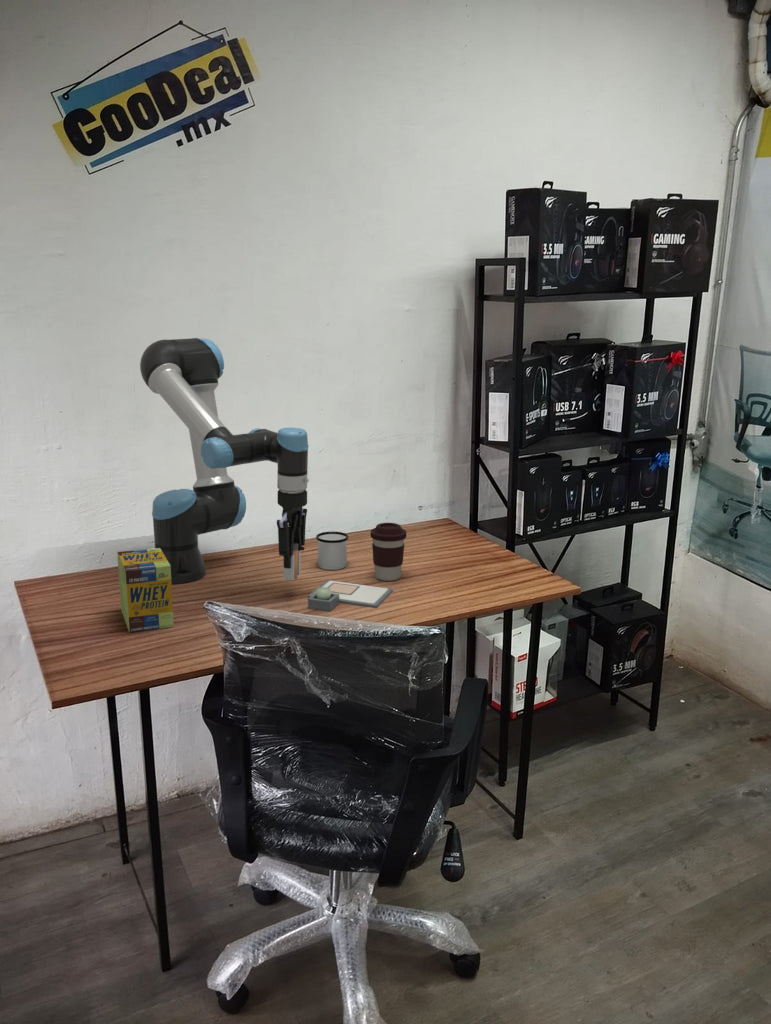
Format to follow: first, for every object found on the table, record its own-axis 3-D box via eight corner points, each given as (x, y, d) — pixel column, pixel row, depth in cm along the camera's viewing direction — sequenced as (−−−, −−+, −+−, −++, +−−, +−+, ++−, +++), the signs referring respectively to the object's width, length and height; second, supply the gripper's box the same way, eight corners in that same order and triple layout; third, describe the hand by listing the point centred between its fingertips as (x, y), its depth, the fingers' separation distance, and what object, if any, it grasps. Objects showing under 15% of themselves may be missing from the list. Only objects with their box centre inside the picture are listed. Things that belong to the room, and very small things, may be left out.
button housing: (308, 608, 213) (308, 598, 213) (317, 600, 219) (317, 591, 218) (330, 611, 212) (330, 602, 211) (339, 603, 217) (339, 594, 216)
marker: (282, 578, 220) (282, 545, 217) (288, 574, 223) (288, 541, 220) (294, 580, 219) (294, 546, 216) (300, 576, 222) (300, 543, 219)
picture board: (307, 598, 220) (307, 594, 220) (327, 582, 232) (327, 578, 232) (376, 607, 214) (376, 604, 214) (393, 591, 226) (393, 587, 226)
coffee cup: (401, 584, 231) (403, 531, 227) (366, 581, 233) (367, 529, 229) (408, 572, 241) (409, 522, 237) (374, 570, 243) (374, 519, 239)
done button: (314, 602, 214) (314, 591, 213) (320, 597, 217) (320, 586, 216) (327, 604, 213) (327, 593, 212) (333, 599, 216) (333, 588, 215)
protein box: (129, 633, 197) (124, 570, 193) (120, 610, 210) (116, 551, 206) (174, 627, 201) (171, 565, 197) (163, 604, 214) (160, 546, 210)
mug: (352, 569, 243) (352, 539, 240) (320, 572, 240) (320, 542, 237) (340, 556, 254) (340, 527, 251) (310, 559, 251) (309, 530, 248)
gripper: (292, 499, 206) (291, 589, 212) (318, 484, 220) (317, 568, 227) (264, 495, 208) (264, 584, 215) (292, 480, 223) (292, 564, 229)
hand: (291, 576), depth 221 cm, fingers closed on marker, 3 cm apart
